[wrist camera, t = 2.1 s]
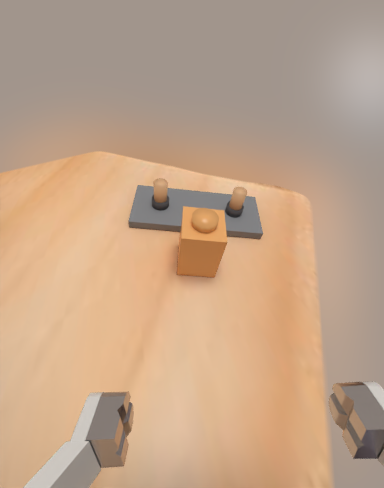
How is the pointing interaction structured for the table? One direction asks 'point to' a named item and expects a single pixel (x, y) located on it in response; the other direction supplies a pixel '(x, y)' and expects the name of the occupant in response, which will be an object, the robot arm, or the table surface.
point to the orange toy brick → (201, 241)
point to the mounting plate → (172, 201)
